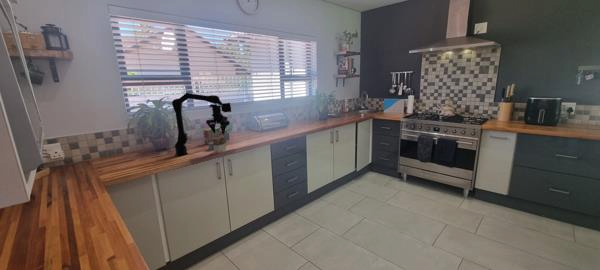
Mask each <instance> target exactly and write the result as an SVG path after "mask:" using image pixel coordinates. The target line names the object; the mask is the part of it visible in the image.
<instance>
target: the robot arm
mask: <svg viewBox="0 0 600 270" xmlns="http://www.w3.org/2000/svg"><path fill="white" fill-rule="evenodd" d="M188 99H189V100H195V101H196V100H197V101H205V102H208V103H210V104H209V106H208V107H209V108H212V109H211V110H212V114H211V117H212V118H211V119H207V120H205V122H206V125H207V126H208V127H209V128H211V130H212V131H213V133H215V127H216V125H217V124H219V125H220V126H219V128H220V129H221V131H222V134H224V133H225V129H227V127H228V126H229V125H231V124H230V120H228V116H225V115H223V113H231V112H232V107H231V102H225V103H224V102H222V101H221V100H220V97H219V96H218V95H217V94H216V95H215V94H213V95H203V94H196V93H190V92H186V93H184V94H183V95H181V96H180V97H179V98H175V99H173V100H172V101H171V104H172V108H173V110H174V113H175V119H176V124H177V132H178V133H177V141H176V142H175V143H176V144H175V149H174V150H175V154H174V156H178V157H182V156H186V155H188V154H189V153H188V151H187V147H186V144H187V142H188V140H189V137H188V132H186V131H185V126H184V119H183V112H182V111H183V103H184V102H185V101H187V100H188ZM222 112H223V113H222Z"/></svg>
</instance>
